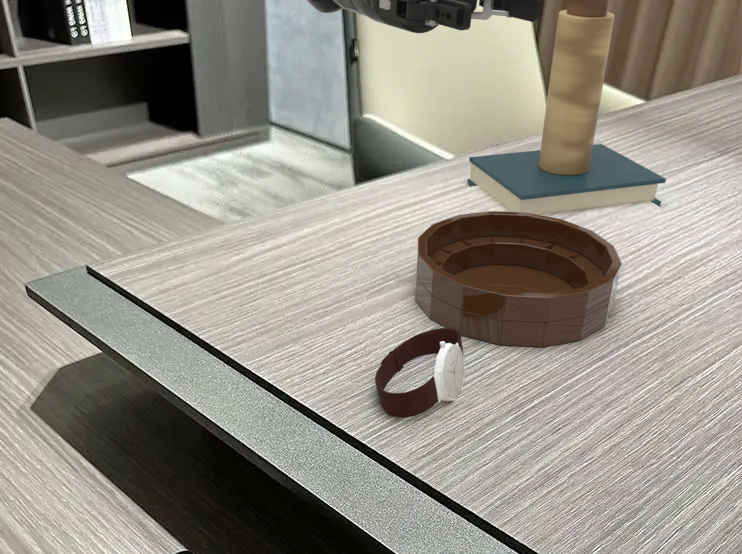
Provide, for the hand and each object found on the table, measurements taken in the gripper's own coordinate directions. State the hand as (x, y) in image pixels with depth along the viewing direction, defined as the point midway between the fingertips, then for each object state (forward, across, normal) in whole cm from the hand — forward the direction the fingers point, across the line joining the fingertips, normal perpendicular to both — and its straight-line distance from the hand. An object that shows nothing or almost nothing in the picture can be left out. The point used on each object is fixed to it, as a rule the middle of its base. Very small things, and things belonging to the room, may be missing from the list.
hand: (505, 13), depth 73 cm
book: (+9, 0, +14) cm, 17 cm away
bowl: (+22, -18, +14) cm, 32 cm away
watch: (+27, -29, +14) cm, 43 cm away
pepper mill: (+9, 0, +12) cm, 15 cm away
